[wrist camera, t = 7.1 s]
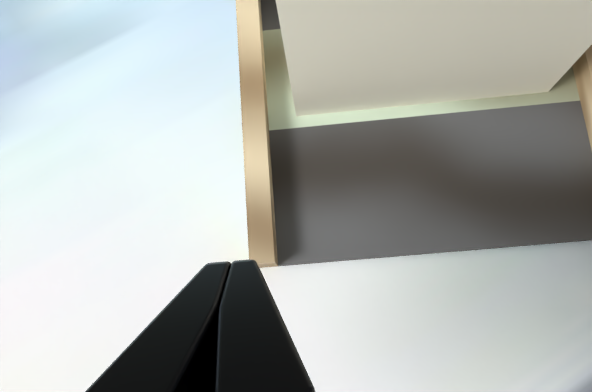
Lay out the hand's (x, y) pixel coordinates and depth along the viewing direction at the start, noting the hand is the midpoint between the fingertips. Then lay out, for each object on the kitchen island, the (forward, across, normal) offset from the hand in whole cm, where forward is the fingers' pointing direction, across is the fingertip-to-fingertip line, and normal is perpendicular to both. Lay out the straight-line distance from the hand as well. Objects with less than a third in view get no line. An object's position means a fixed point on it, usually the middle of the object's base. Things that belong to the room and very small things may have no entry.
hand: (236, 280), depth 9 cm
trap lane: (+15, -6, +3) cm, 17 cm away
